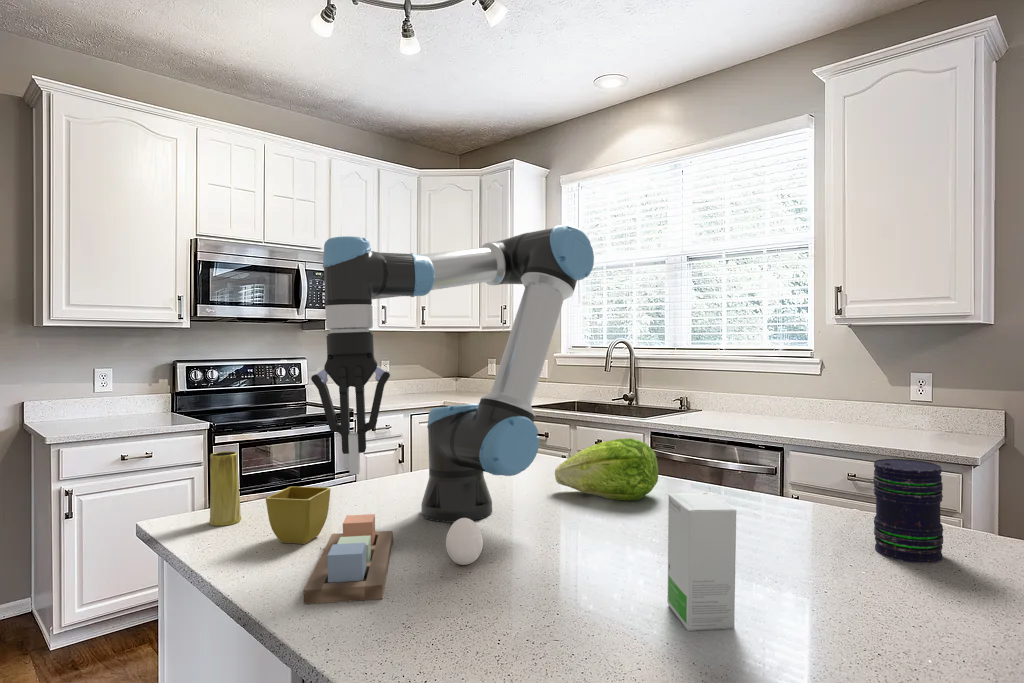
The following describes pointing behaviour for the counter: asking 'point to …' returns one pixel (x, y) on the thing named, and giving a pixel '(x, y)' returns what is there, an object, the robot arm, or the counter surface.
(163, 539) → the counter surface
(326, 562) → the board
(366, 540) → the key sage
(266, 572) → the counter surface
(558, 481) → the lettuce
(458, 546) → the egg
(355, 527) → the key rust
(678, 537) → the skincare box
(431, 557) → the counter surface
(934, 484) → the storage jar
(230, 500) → the vase
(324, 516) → the flower pot
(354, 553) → the key slate
